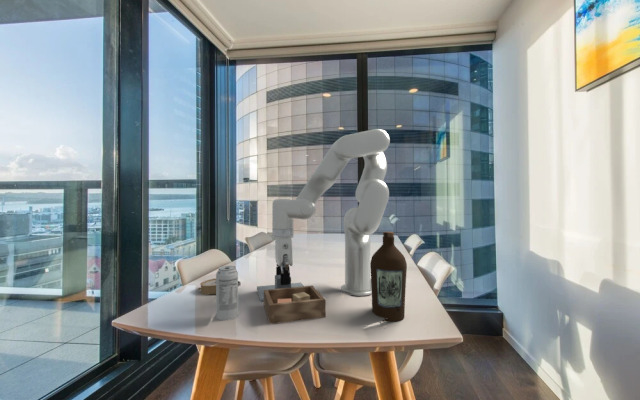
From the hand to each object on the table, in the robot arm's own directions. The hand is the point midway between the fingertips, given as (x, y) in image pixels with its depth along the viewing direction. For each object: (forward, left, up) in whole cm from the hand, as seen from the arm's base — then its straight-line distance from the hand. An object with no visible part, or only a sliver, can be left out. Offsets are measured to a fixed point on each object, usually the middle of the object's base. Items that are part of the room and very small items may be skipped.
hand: (282, 280), depth 105 cm
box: (0, +18, -5) cm, 19 cm away
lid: (0, 0, -6) cm, 6 cm away
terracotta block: (+3, +20, -4) cm, 21 cm away
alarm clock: (+21, -13, -6) cm, 26 cm away
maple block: (-3, +16, -4) cm, 17 cm away
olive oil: (-27, +27, -5) cm, 39 cm away
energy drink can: (+19, +16, -5) cm, 25 cm away
